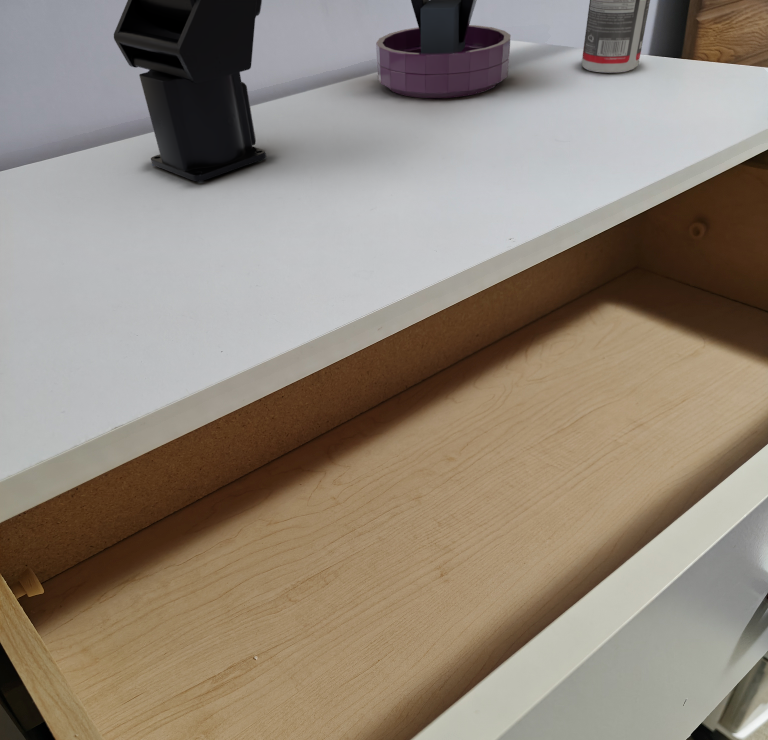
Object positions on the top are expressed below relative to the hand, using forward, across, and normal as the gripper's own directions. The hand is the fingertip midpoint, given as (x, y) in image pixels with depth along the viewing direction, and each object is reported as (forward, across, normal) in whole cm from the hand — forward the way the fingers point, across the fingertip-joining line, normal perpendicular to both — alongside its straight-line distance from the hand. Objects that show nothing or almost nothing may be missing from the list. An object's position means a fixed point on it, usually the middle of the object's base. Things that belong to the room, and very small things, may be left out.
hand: (443, 41), depth 62 cm
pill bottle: (+4, +15, +6) cm, 17 cm away
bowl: (+3, 0, 0) cm, 3 cm away
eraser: (+1, 0, 0) cm, 1 cm away
